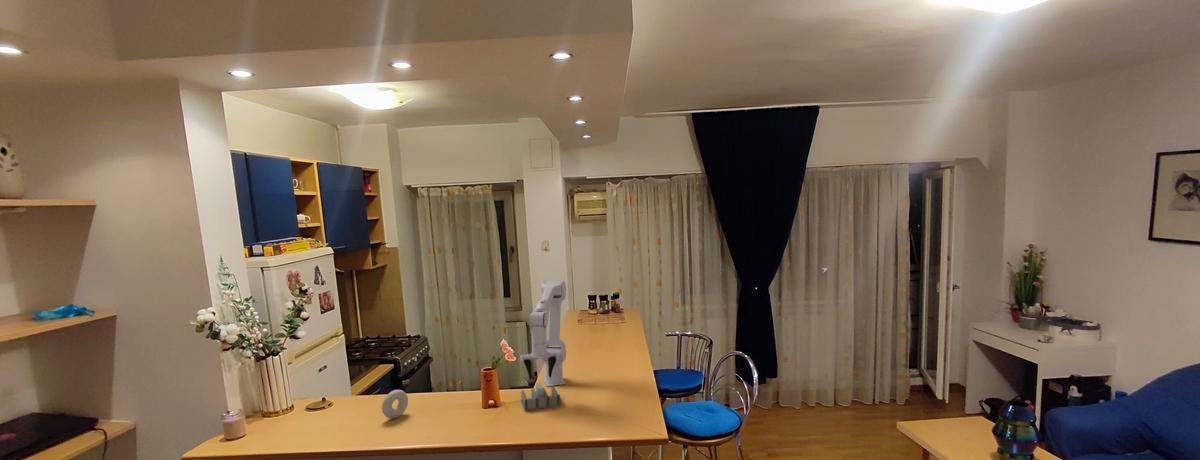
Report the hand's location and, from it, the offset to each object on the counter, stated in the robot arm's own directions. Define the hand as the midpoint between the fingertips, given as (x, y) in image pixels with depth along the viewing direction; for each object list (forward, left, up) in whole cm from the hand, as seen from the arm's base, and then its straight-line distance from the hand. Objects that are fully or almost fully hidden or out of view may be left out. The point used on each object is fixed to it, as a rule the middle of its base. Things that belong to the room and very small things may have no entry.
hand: (540, 377), depth 180 cm
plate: (0, 0, -9) cm, 9 cm away
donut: (-5, -52, -10) cm, 54 cm away
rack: (+1, 0, -10) cm, 10 cm away
